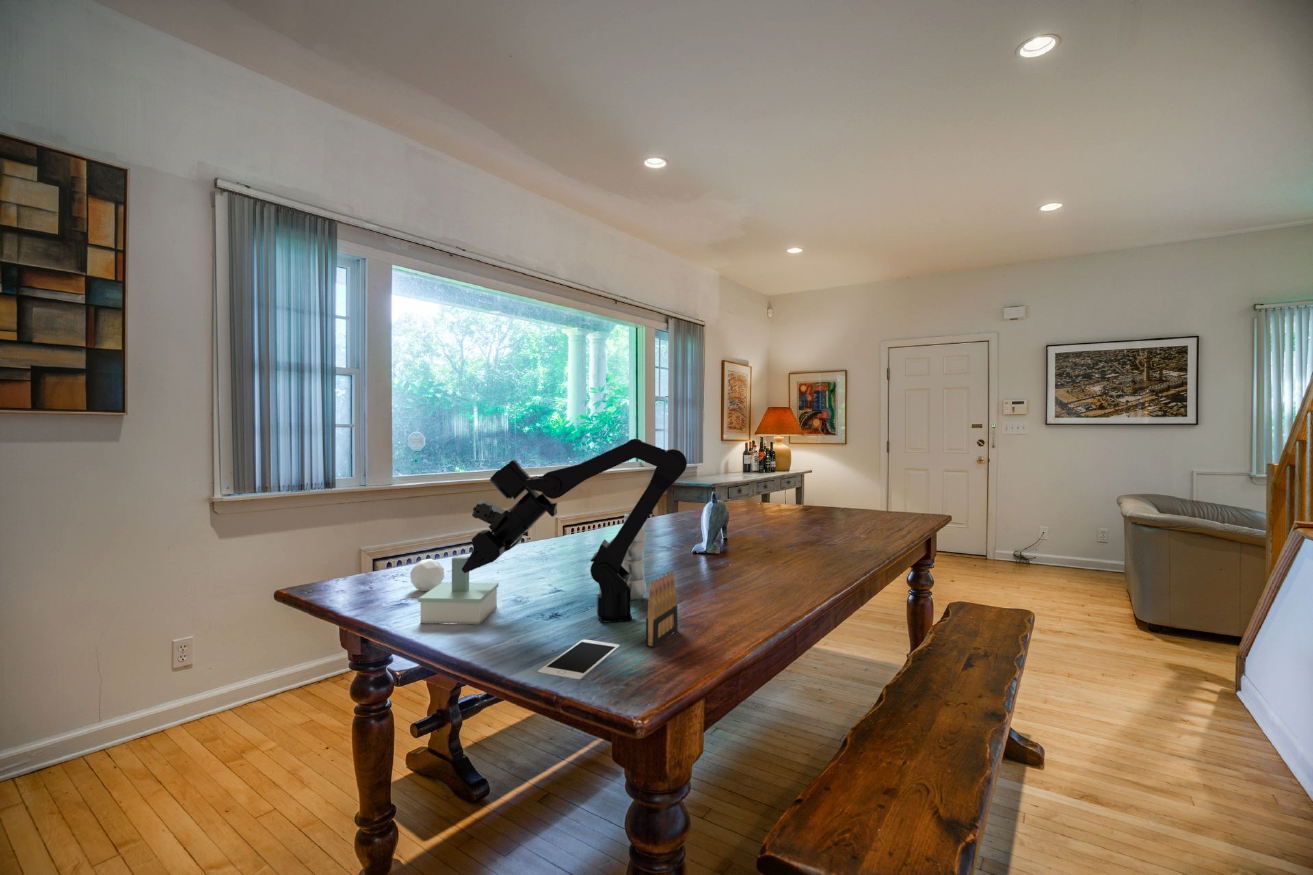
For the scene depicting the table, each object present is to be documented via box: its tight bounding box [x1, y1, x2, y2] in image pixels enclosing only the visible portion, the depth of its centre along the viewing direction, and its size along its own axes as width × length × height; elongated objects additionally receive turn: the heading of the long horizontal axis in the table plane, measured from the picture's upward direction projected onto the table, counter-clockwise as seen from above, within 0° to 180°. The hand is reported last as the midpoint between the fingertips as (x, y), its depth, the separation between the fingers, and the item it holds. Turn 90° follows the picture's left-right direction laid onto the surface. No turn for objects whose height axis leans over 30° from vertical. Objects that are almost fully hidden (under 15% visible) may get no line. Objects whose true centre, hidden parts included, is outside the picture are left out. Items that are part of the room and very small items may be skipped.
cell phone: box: [537, 639, 621, 681], centre depth 102 cm, size 8×16×1 cm, turn 160°
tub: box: [420, 587, 498, 626], centre depth 125 cm, size 12×12×4 cm
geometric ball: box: [409, 558, 445, 592], centre depth 144 cm, size 8×8×8 cm
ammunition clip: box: [645, 570, 678, 648], centre depth 112 cm, size 11×2×12 cm, turn 155°
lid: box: [418, 555, 500, 603], centre depth 125 cm, size 13×13×9 cm
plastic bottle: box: [621, 512, 647, 601], centre depth 138 cm, size 6×7×20 cm
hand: (470, 566), depth 125 cm, fingers open, 9 cm apart
